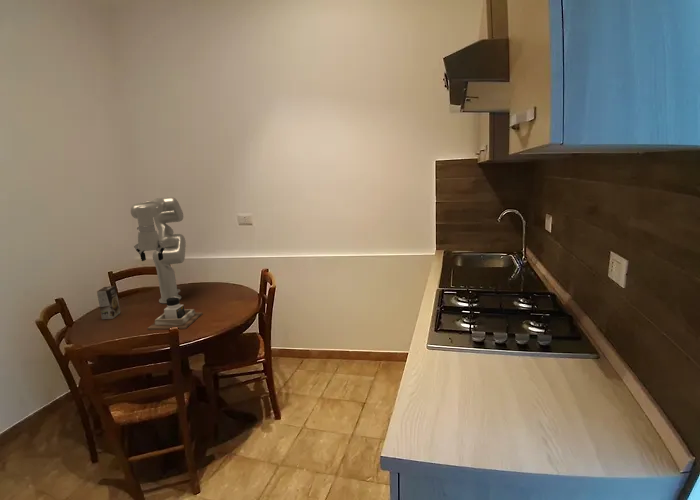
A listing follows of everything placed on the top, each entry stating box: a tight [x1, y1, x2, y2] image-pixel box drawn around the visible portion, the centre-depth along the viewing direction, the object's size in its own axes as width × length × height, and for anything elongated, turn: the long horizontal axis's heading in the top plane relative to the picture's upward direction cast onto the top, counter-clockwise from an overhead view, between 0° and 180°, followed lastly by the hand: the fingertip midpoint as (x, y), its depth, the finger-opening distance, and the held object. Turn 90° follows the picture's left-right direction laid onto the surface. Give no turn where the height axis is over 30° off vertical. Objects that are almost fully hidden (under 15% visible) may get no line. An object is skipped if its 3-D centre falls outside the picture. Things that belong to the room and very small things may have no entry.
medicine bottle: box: [163, 297, 185, 319], centre depth 225 cm, size 7×7×12 cm
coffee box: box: [96, 285, 121, 320], centre depth 239 cm, size 9×6×16 cm
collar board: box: [147, 308, 203, 331], centre depth 226 cm, size 20×20×4 cm
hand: (152, 260), depth 234 cm, fingers open, 9 cm apart
